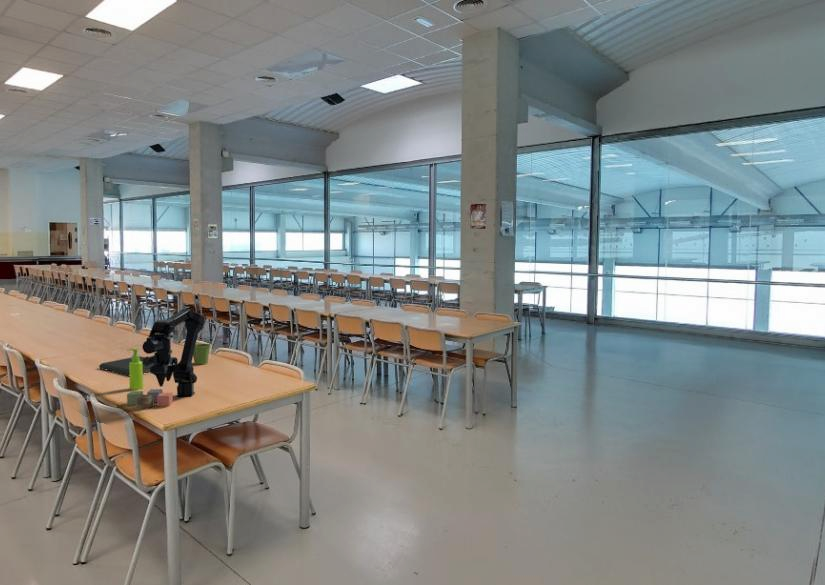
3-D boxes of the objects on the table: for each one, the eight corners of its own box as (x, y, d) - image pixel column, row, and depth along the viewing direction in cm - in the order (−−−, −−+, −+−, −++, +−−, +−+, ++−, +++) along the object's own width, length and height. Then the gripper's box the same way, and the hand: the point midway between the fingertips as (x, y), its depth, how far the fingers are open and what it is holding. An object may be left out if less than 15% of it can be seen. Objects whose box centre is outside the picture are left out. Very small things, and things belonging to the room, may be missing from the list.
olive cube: (143, 401, 245) (142, 391, 245) (139, 405, 240) (138, 394, 240) (131, 402, 245) (131, 391, 244) (127, 405, 240) (126, 394, 239)
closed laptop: (172, 362, 310) (131, 371, 289) (172, 369, 310) (132, 378, 290) (139, 355, 327) (99, 363, 307) (140, 362, 328) (99, 370, 307)
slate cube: (162, 399, 249) (162, 389, 248) (158, 402, 244) (158, 392, 244) (151, 400, 248) (151, 389, 248) (147, 403, 243) (147, 392, 243)
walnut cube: (153, 405, 240) (152, 394, 240) (149, 408, 235) (148, 397, 235) (141, 405, 239) (141, 394, 239) (137, 409, 235) (136, 398, 234)
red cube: (172, 403, 244) (172, 392, 243) (169, 406, 239) (168, 395, 238) (161, 403, 243) (161, 392, 242) (157, 407, 238) (157, 395, 238)
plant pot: (215, 362, 328) (215, 343, 327) (204, 366, 317) (204, 347, 316) (197, 361, 330) (197, 342, 329) (186, 365, 319) (185, 346, 318)
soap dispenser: (132, 386, 270) (131, 347, 268) (145, 387, 270) (144, 347, 268) (125, 389, 264) (123, 349, 263) (138, 390, 264) (137, 350, 262)
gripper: (152, 345, 247) (153, 378, 248) (136, 353, 228) (137, 389, 230) (177, 345, 248) (178, 378, 250) (163, 353, 230) (164, 389, 231)
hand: (164, 383), depth 240 cm, fingers open, 9 cm apart
